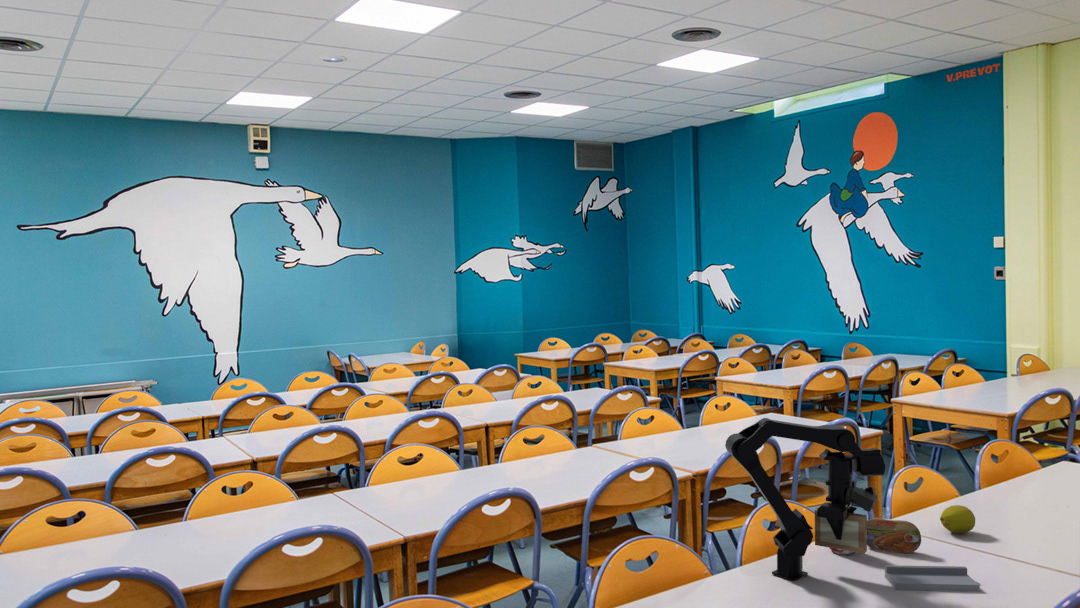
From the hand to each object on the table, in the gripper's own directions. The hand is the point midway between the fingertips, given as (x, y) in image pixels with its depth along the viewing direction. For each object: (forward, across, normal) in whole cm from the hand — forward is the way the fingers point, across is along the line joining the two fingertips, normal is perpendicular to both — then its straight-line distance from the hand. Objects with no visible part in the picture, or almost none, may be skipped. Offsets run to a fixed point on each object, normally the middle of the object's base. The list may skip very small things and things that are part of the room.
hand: (840, 537), depth 200 cm
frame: (+3, 0, 0) cm, 3 cm away
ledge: (+9, +5, -20) cm, 22 cm away
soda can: (+9, +16, +4) cm, 19 cm away
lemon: (+10, +50, -19) cm, 54 cm away
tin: (+10, +25, -7) cm, 28 cm away
